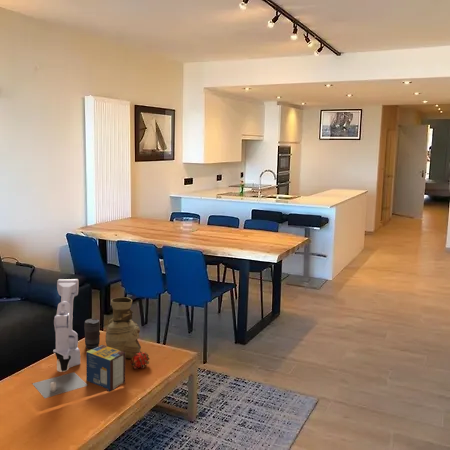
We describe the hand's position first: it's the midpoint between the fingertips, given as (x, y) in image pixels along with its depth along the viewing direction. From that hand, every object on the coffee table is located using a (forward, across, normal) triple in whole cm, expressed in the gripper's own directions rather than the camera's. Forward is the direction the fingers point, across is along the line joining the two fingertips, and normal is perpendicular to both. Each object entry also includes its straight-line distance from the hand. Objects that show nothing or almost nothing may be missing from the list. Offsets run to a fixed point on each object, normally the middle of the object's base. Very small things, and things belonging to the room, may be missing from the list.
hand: (62, 367), depth 227 cm
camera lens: (+8, -35, +24) cm, 43 cm away
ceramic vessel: (+8, -20, +36) cm, 42 cm away
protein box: (+8, +7, +18) cm, 21 cm away
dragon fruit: (+8, -1, +38) cm, 39 cm away
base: (+8, +2, -2) cm, 8 cm away
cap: (+1, 0, 0) cm, 1 cm away
